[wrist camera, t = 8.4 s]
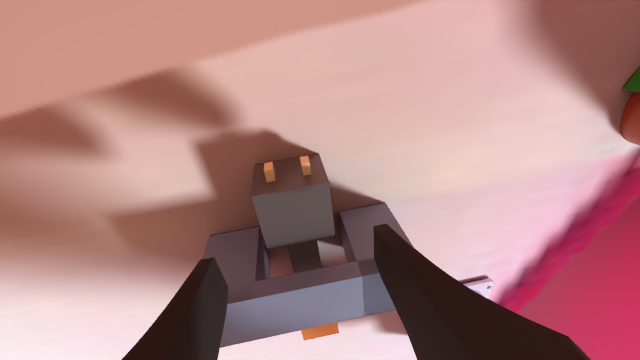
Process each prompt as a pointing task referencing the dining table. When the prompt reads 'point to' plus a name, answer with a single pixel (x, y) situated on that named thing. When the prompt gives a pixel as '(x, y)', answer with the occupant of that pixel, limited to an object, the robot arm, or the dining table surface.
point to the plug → (295, 214)
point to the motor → (632, 111)
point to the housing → (301, 281)
